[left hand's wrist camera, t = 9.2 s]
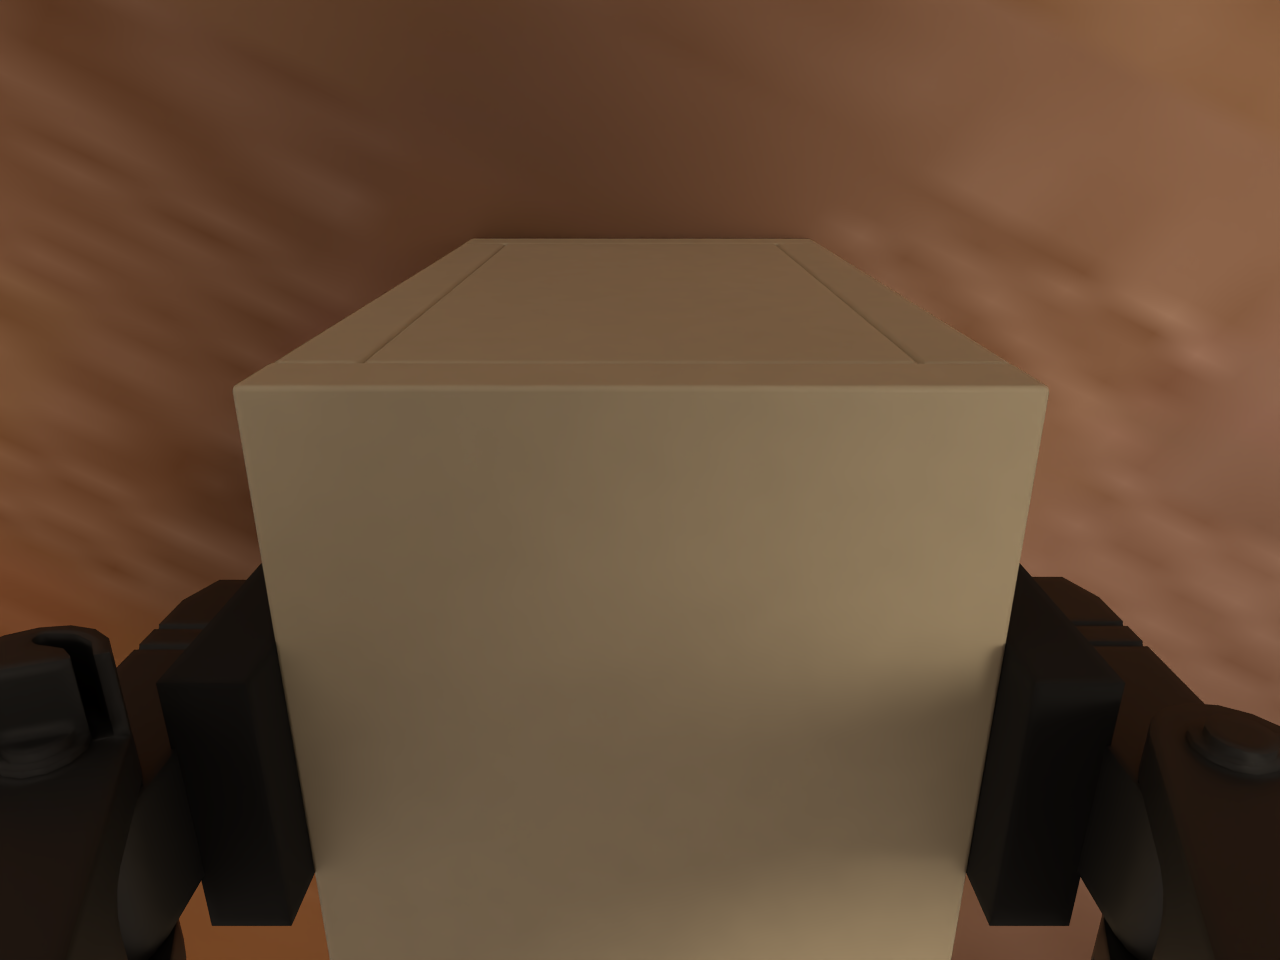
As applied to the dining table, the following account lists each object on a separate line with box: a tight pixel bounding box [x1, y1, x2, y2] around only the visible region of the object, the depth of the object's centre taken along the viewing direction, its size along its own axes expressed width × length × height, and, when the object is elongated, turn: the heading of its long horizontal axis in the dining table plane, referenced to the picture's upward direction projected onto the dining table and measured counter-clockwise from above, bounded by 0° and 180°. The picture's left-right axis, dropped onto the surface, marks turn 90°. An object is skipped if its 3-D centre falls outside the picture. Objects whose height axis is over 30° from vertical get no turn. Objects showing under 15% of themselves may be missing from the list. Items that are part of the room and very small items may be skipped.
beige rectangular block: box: [233, 239, 1049, 960], centre depth 15 cm, size 17×7×11 cm, turn 0°
